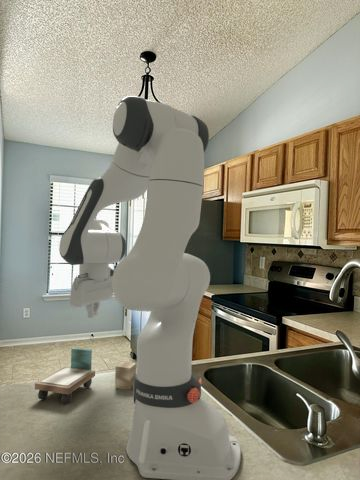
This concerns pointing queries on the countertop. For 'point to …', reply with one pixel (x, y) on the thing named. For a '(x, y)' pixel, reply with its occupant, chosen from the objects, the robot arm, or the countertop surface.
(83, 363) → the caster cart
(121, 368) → the maple block
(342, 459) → the countertop surface
